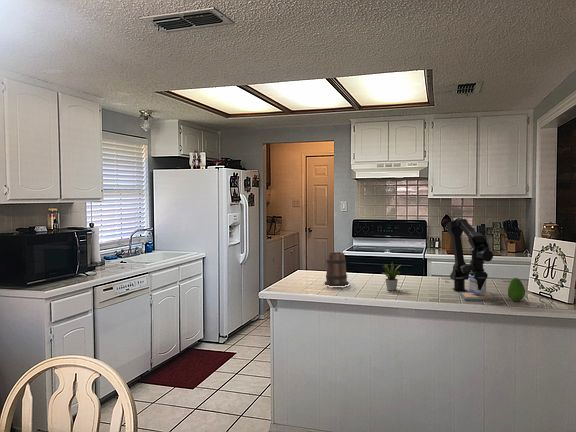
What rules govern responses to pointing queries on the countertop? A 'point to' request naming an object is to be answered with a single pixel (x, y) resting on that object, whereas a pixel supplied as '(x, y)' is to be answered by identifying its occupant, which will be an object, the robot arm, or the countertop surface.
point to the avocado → (516, 290)
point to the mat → (477, 296)
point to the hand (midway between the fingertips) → (477, 288)
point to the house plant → (391, 277)
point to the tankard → (336, 270)
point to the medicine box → (474, 288)
